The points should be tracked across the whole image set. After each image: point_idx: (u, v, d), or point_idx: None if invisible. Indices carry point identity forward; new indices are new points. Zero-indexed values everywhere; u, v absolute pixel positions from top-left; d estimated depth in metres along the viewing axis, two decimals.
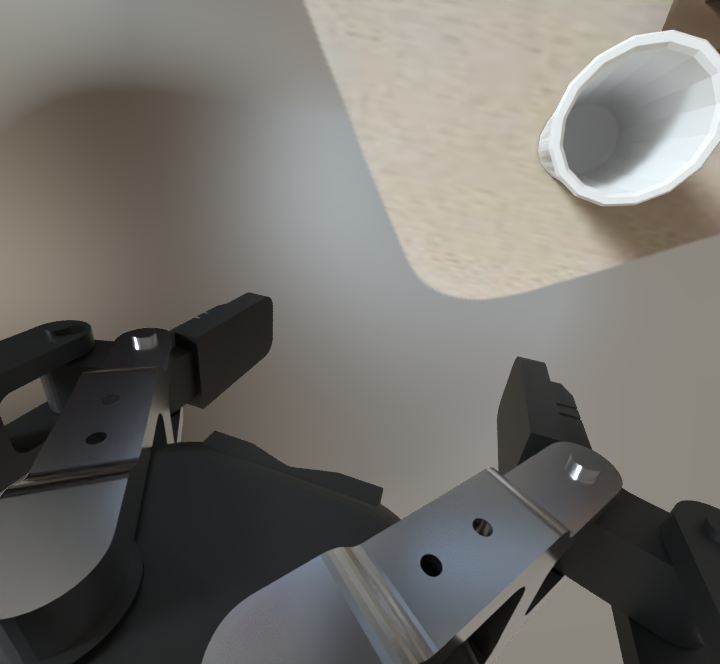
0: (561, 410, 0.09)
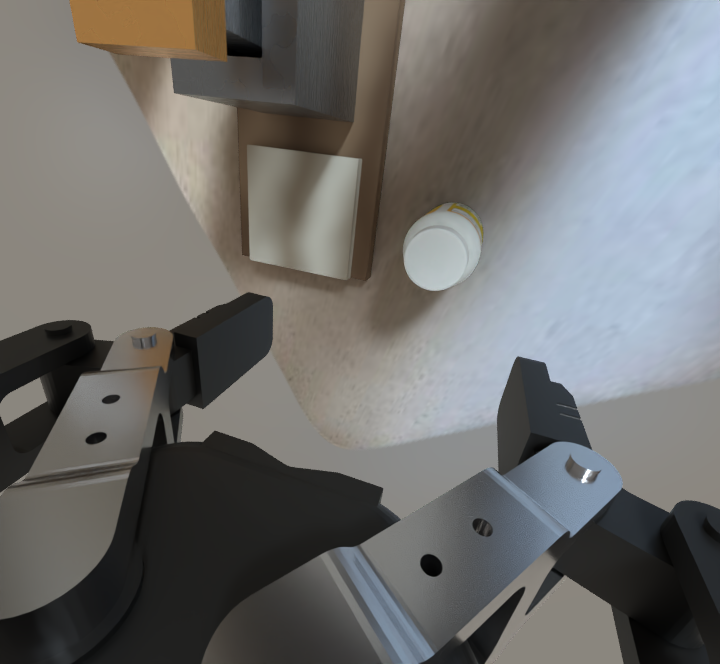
0: (561, 410, 0.09)
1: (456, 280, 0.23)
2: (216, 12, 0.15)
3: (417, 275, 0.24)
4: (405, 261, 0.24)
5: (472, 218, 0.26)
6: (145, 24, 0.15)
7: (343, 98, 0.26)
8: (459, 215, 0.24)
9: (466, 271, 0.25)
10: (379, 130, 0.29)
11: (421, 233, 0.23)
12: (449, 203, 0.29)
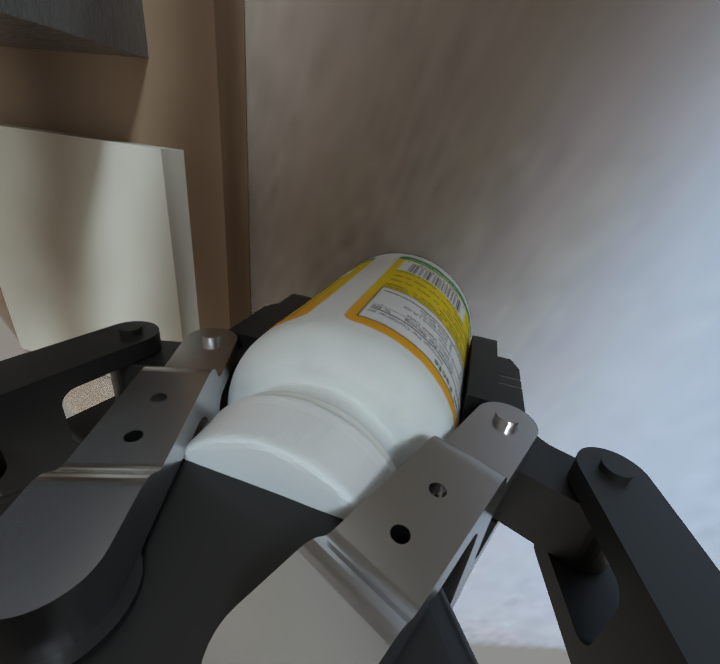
0: (505, 380, 0.10)
1: None
2: None
3: None
4: None
5: (434, 321, 0.09)
6: None
7: None
8: (379, 338, 0.07)
9: None
10: (207, 76, 0.11)
11: (201, 447, 0.06)
12: (388, 257, 0.12)
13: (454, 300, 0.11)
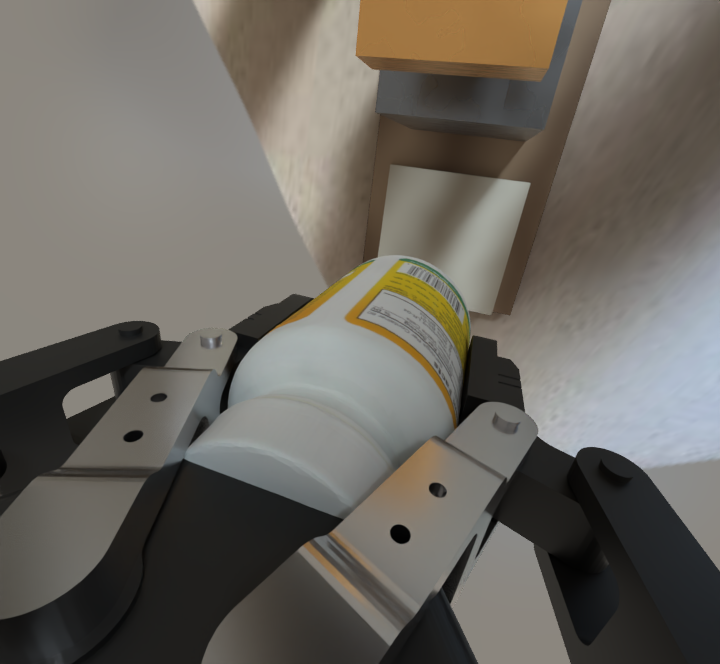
0: (505, 380, 0.10)
1: None
2: None
3: None
4: None
5: (434, 323, 0.09)
6: (476, 34, 0.11)
7: None
8: (379, 341, 0.07)
9: None
10: (557, 151, 0.25)
11: (202, 450, 0.06)
12: (388, 259, 0.12)
13: (453, 302, 0.11)
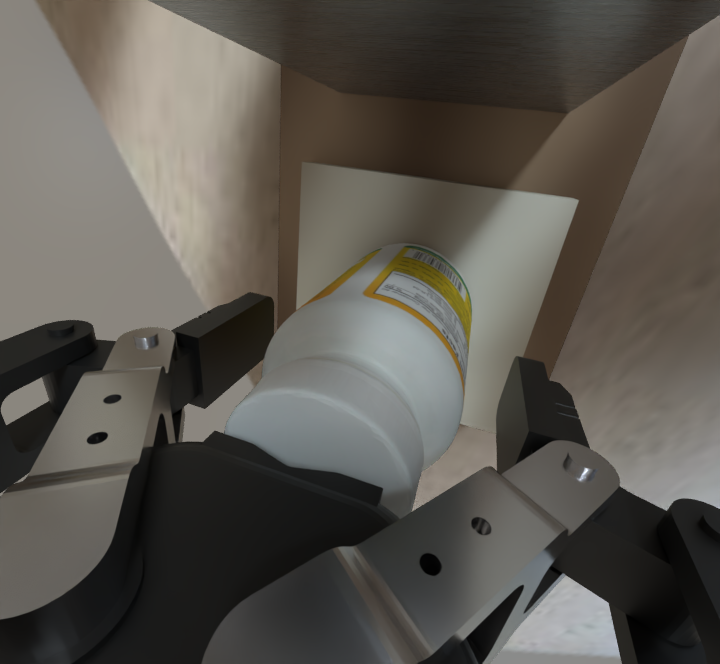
0: (559, 409, 0.09)
1: None
2: None
3: None
4: None
5: (440, 298, 0.10)
6: None
7: None
8: (395, 311, 0.08)
9: (425, 461, 0.09)
10: (636, 132, 0.12)
11: (255, 400, 0.07)
12: (394, 247, 0.13)
13: (456, 282, 0.12)
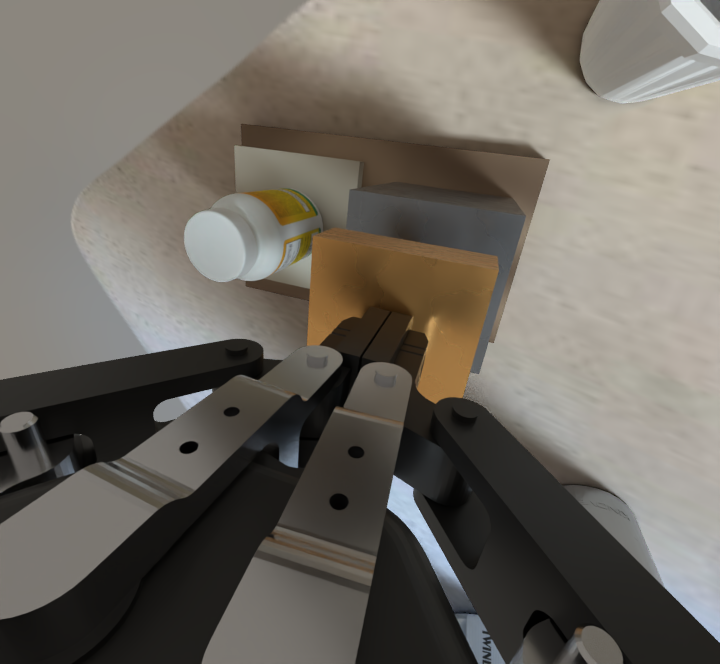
0: (410, 349, 0.11)
1: (202, 273, 0.21)
2: None
3: (193, 229, 0.20)
4: (203, 213, 0.20)
5: (292, 260, 0.25)
6: None
7: None
8: (280, 256, 0.23)
9: None
10: None
11: (235, 230, 0.20)
12: (318, 222, 0.27)
13: (305, 256, 0.27)
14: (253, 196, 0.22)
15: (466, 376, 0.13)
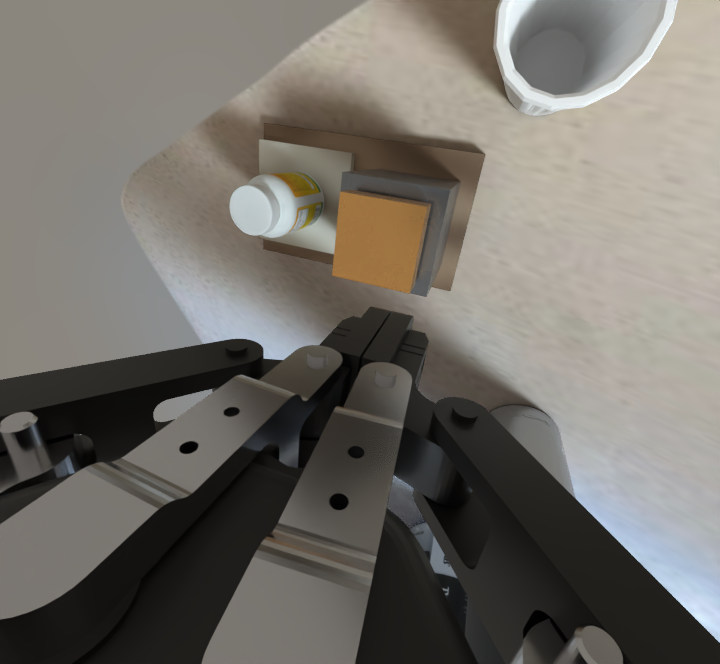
0: (410, 349, 0.11)
1: (241, 229, 0.31)
2: None
3: (237, 198, 0.30)
4: (244, 186, 0.29)
5: (302, 224, 0.35)
6: (344, 247, 0.27)
7: None
8: (294, 219, 0.32)
9: None
10: None
11: (266, 198, 0.29)
12: (320, 197, 0.36)
13: (311, 223, 0.37)
14: (276, 176, 0.32)
15: (414, 263, 0.25)
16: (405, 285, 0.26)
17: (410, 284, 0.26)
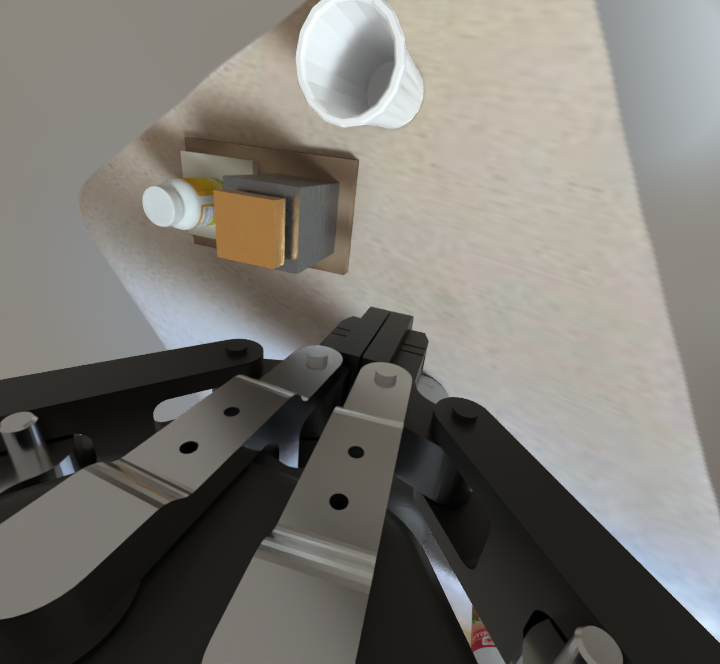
0: (410, 349, 0.11)
1: (153, 222, 0.38)
2: None
3: (147, 196, 0.37)
4: (151, 187, 0.37)
5: (211, 218, 0.42)
6: (222, 234, 0.34)
7: None
8: (199, 213, 0.40)
9: None
10: None
11: (168, 196, 0.37)
12: None
13: None
14: (182, 179, 0.39)
15: (273, 244, 0.33)
16: (269, 263, 0.34)
17: (273, 261, 0.33)
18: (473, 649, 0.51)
